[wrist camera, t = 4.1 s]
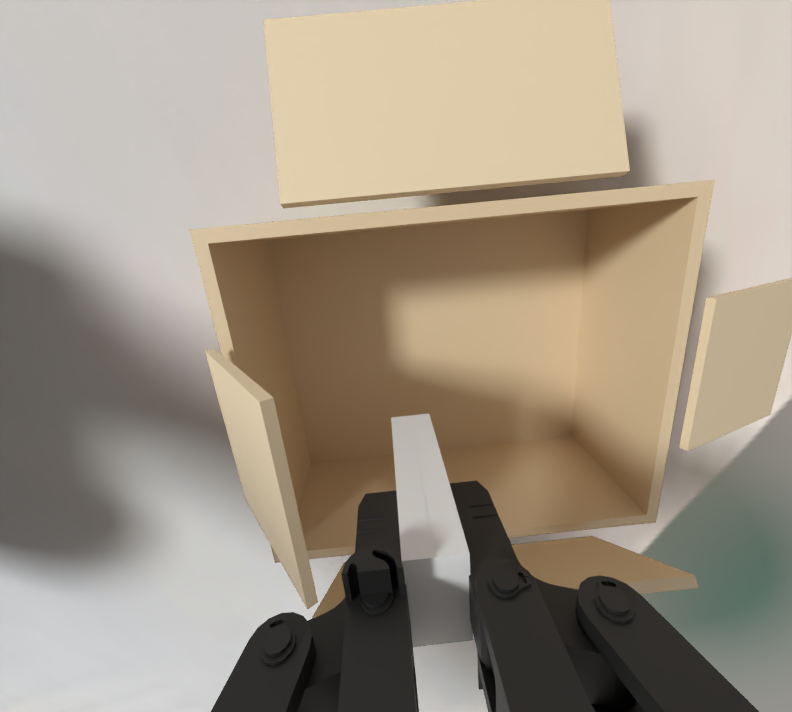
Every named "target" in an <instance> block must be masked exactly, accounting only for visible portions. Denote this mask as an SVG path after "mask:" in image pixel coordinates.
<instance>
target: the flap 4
mask: <svg viewBox="0 0 792 712" xmlns="http://www.w3.org/2000/svg"><path fill="white" fill-rule="evenodd" d="M791 334H792V278H789V279H785V280H781V281H776V282H772V283H768V284H763V285H759V286H755V287H751V288H746V289H742V290H738V291H733V292H729V293H725V294H720V295H716V296H712V297H708V298H706V303H705V308H704V314H703V319H702V325H701V330H700V336H699V341H698V347H697V352H696V358H695V363H694V369H693V374H692V380H691V385H690V391H689V396H688V402H687V407H686V413H685V418H684V424H683V429H682V435H681V440H680V446H679V448H681V449H683V450H685V451H690V450H692V449H694V448H696V447H699V446H701V445H703V444H705V443H708V442H710V441H712V440H714V439H717V438H719V437H721V436H723V435H726V434H728V433H730V432H732V431H735V430H737V429H739V428H741V427H744V426H746V425H748V424H750V423H753V422H755V421H757V420H759V419H762V418H764V417H766V416H768V415H770V413H771V410H772V406H773V402H774V398H775V395H776V391H777V387H778V383H779V379H780V376H781V372H782V368H783V364H784V361H785V357H786V353H787V349H788V346H789V342H790V338H791Z"/></svg>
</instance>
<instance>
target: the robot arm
mask: <svg viewBox="0 0 792 712" xmlns="http://www.w3.org/2000/svg"><path fill="white" fill-rule="evenodd" d="M391 424H392V437H393V451H394V465H395V478H396V490H395V491H386V492H377V493H367V494H365V496H364V497H363V499H362V501H361V502H360V504H359V506H358V516H357V530H356V532H357V534H356V544H355V553H354V554H352V555H351V556H350V558H349V559H348V560H347V561H346V563H345V564H344V567H343V570H342V573H341V575H342V581H343V586H344V591H345V598H344V599H343V600H342V601H341V602H340V603H339V604H338V605H337V606H336V607H335V608H333V609H331V610H329V611H328V612H326V613H324V614H322V615H319V616H317V617H315V618H313V619H311V620H308V621H307V620H306V619H305V618H304V617H303V616H302V615H299V614H296V613H294V612H291V613H281V614H279V615H276V616H274V617H272V618H269V619H268V620H267V621H266V622H264V623H263V624H262V625H261V626H260V627H258V628H257V630H256V631H255V633H254V634H253V635H252V637H251V638H250V640H249V641H248V643H247V645H246V647H245V649H244V651H243V652H242V654H241V656H240V658H239V660H238V662H237V664H236V666H235V668H234V669H233V671H232V673H231V675H230V677H229V679H228V681H227V683H226V684H225V686H224V688H223V690H222V692H221V694H220V696H219V698H218V699H217V701H216V703H215V705H214V707H213V709H212V711H211V712H419V708H418V697H417V686H416V675H415V666H414V656H413V647H417V646H426V645H434V644H443V643H451V642H460V641H469V640H473V634H474V638H475V642H476V646H477V652H478V682H479V689H483V690H484V695H485V699H486V703H487V708H488V712H759V711H758V710H757V709H756V708H755V707H754V706H753V705H751V703H749V702H748V700H747V699H746V698H745V697H744V696H743V695H742V694H740V693H739V691H737V689H735V688H734V687H733V686H732V685H731V684H730V683H729V682H728V681H727V680H726V679H725V678H724V677H723V676H722V675H721V674H720V673H719V672H718V671H717V670H716V669H715V668H714V667H713V666H712V665H711V664H710V663H709V662H708V661H707V660H706V659H705V658H704V657H703V656H702V655H701V654H700V653H699V652H698V651H697V650H696V649H695V648H694V647H693V646H692V645H691V644H690V643H689V642H688V641H687V640H686V639H685V638H684V637H683V636H682V635H681V634H680V633H679V632H678V631H677V630H676V629H675V628H673V626H672V625H671V624H670V623H669V622H668V621H667V620H665V618H664V617H662V615H661V614H660V613H658V612H657V611H656V610H655V609H654V608H653V607H652V606H651V605H650V604H649V603H648V602H647V601H646V600H645V599H644V598H643V597H642V596H641V595H640V594H639V593H638V592H637V591H635V590H634V589H633V588H631V587H630V586H629V585H628V584H626V583H624V582H621V581H619V580H617V579H615V578H612V577H606V576H601V575H599V576H593V577H588V578H587V579H585V580H584V581H583V582H581V583H580V586H579V589H573V588H567V587H562V586H557V585H553V584H549V583H546V582H543V581H541V580H539V579H537V578H535V577H534V576H532V575H531V574H530V572H529V571H528V570H527V569H525V568H524V567H523V566H522V565H521V564H520V562H519V560H518V559H517V557H516V554H515V552H514V550H513V547H512V545H511V543H510V540H509V538H508V536H507V533H506V531H505V529H504V527H503V524H502V522H501V520H500V517H499V516H498V513H497V510H496V508H495V506H494V503H493V501H492V499H491V496H490V494H489V492H488V490H487V489H486V488H485V487H483V486H482V485H481V484H480V483H479V482H478V481H477V480H476V481H467V482H458V483H449V480H448V477H447V473H446V470H445V466H444V463H443V459H442V456H441V452H440V449H439V445H438V442H437V439H436V435H435V432H434V428H433V425H432V421H431V418H430V414H420V415H411V416H401V417H392V418H391ZM472 630H473V632H472Z"/></svg>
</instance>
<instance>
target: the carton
mask: <svg viewBox="0 0 792 712" xmlns="http://www.w3.org/2000/svg"><path fill="white" fill-rule="evenodd" d="M713 186H714V180H708V181H698V182H687V183H677V184H666V185H656V186H645V187H635V188H624V189H613V190H603V191H592V192H582V193H571V194H561V195H550V196H540V197H529V198H519V199H508V200H498V201H487V202H477V203H466V204H456V205H445V206H435V207H424V208H414V209H403V210H393V211H382V212H372V213H361V214H351V215H340V216H330V217H319V218H308V219H298V220H287V221H277V222H266V223H256V224H245V225H235V226H224V227H214V228H203V229H193V230H190V234H191V238H192V241H193V245H194V249H195V253H196V257H197V261H198V265H199V269H200V273H201V276H202V280H203V284H204V288H205V292H206V296H207V300H208V304H209V308H210V311H211V315H212V319H213V323H214V327H215V331H216V335H217V339H218V343H219V346H220V350H221V354H222V355H223V356H224V357H226V358H227V359H228V360H229V361H230V362H232V363H233V364H234V365H235V366H236V367H238V368H239V369H240V370H241V371H242V372H244V373H245V374H246V375H247V376H248V377H250V378H251V379H252V380H253V381H254V382H256V383H257V384H258V385H259V386H260V387H262V388H263V389H264V390H265V391H266V392H268V393H269V394H270V395H271V396H272V397H273V398H274V403H275V407H276V412H277V416H278V421H279V426H280V430H281V435H282V439H283V444H284V449H285V453H286V458H287V462H288V467H289V472H290V476H291V481H292V485H293V490H294V494H295V499H296V504H297V508H298V513H299V517H300V522H301V527H302V531H303V536H304V540H305V545H306V550H307V554H308V559H315V558H324V557H334V556H343V555H352V554H354V553H355V544H356V534H357V532H356V530H357V516H358V506H359V504H360V502H361V501H362V499H363V497H364V496H365V494H367V493H377V492H386V491H395V490H396V478H395V465H394V451H393V437H392V424H391V418H392V417H401V416H411V415H420V414H430V418H431V421H432V425H433V428H434V432H435V435H436V439H437V442H438V445H439V449H440V452H441V456H442V459H443V463H444V466H445V470H446V473H447V477H448V480H449V483H458V482H467V481H476V480H477V481H478V482H479V483H480V484H481V485H482V486H483V487H485V488H486V489H487V490H488V492H489V494H490V496H491V499H492V501H493V503H494V506H495V508H496V510H497V513H498V516H499V517H500V520H501V522H502V524H503V527H504V529H505V531H506V533H507V536H508V538H512V537H522V536H531V535H540V534H550V533H559V532H568V531H578V530H587V529H597V528H606V527H615V526H625V525H634V524H644V523H653V522H656V518H657V513H658V507H659V501H660V495H661V489H662V483H663V478H664V472H665V466H666V460H667V454H668V448H669V442H670V437H671V431H672V425H673V419H674V413H675V407H676V402H677V396H678V390H679V384H680V378H681V372H682V367H683V361H684V355H685V349H686V343H687V337H688V332H689V326H690V320H691V314H692V308H693V302H694V297H695V291H696V285H697V279H698V273H699V267H700V262H701V256H702V250H703V244H704V238H705V232H706V227H707V221H708V215H709V209H710V203H711V197H712V192H713ZM270 545H271V544H270ZM271 549H272V552H273V556H274V560H275V563H277V562H280V560H279V558H278V557H277V555H276V553H275V551H274V549H273V548H272V546H271Z"/></svg>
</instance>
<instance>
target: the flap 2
mask: <svg viewBox="0 0 792 712" xmlns="http://www.w3.org/2000/svg"><path fill="white" fill-rule="evenodd" d="M263 22H264V33H265V44H266V54H267V65H268V76H269V87H270V97H271V108H272V119H273V130H274V140H275V151H276V162H277V172H278V183H279V194H280V204H281V205H282V207H283V208H292V207H302V206H313V205H324V204H334V203H345V202H355V201H366V200H376V199H387V198H397V197H408V196H419V195H429V194H440V193H450V192H461V191H471V190H482V189H493V188H503V187H514V186H524V185H535V184H545V183H556V182H567V181H577V180H588V179H598V178H609V177H619V176H624V175H626V174H627V173H628V172H629V171H630V167H629V159H628V150H627V142H626V134H625V125H624V117H623V108H622V100H621V91H620V83H619V74H618V66H617V57H616V49H615V41H614V32H613V24H612V15H611V7H610V0H481V1H470V2H458V3H447V4H436V5H424V6H413V7H402V8H390V9H379V10H368V11H356V12H345V13H334V14H322V15H311V16H300V17H288V18H277V19H266V20H263Z"/></svg>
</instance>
